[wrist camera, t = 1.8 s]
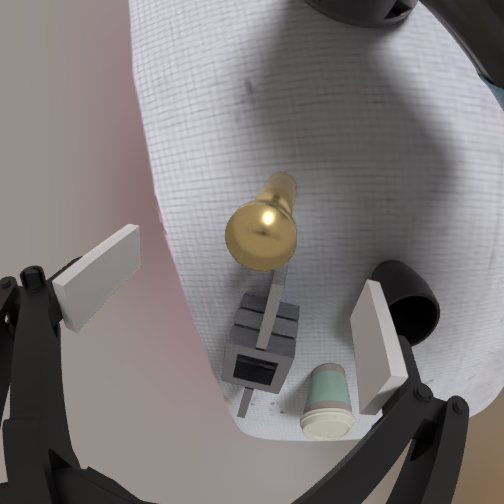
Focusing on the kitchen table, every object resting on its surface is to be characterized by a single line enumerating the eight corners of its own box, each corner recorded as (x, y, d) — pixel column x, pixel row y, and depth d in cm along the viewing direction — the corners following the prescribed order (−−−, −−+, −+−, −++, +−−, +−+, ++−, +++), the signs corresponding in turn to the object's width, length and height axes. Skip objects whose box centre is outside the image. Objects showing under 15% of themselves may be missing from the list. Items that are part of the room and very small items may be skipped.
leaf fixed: (244, 293, 40) (226, 341, 31) (299, 306, 39) (294, 358, 30) (231, 367, 48) (216, 410, 39) (273, 377, 47) (265, 422, 38)
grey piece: (255, 233, 35) (236, 274, 26) (317, 248, 34) (319, 294, 26) (237, 332, 43) (220, 380, 35) (286, 344, 43) (278, 394, 34)
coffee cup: (298, 363, 44) (291, 422, 34) (347, 353, 41) (350, 414, 31) (312, 390, 47) (307, 444, 37) (356, 381, 44) (358, 437, 34)
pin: (265, 163, 31) (229, 197, 18) (306, 172, 30) (303, 214, 17) (258, 201, 33) (221, 261, 20) (297, 210, 33) (287, 277, 19)
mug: (351, 321, 38) (357, 370, 30) (367, 248, 33) (382, 291, 25) (401, 323, 37) (415, 369, 29) (423, 252, 32) (450, 293, 23)
